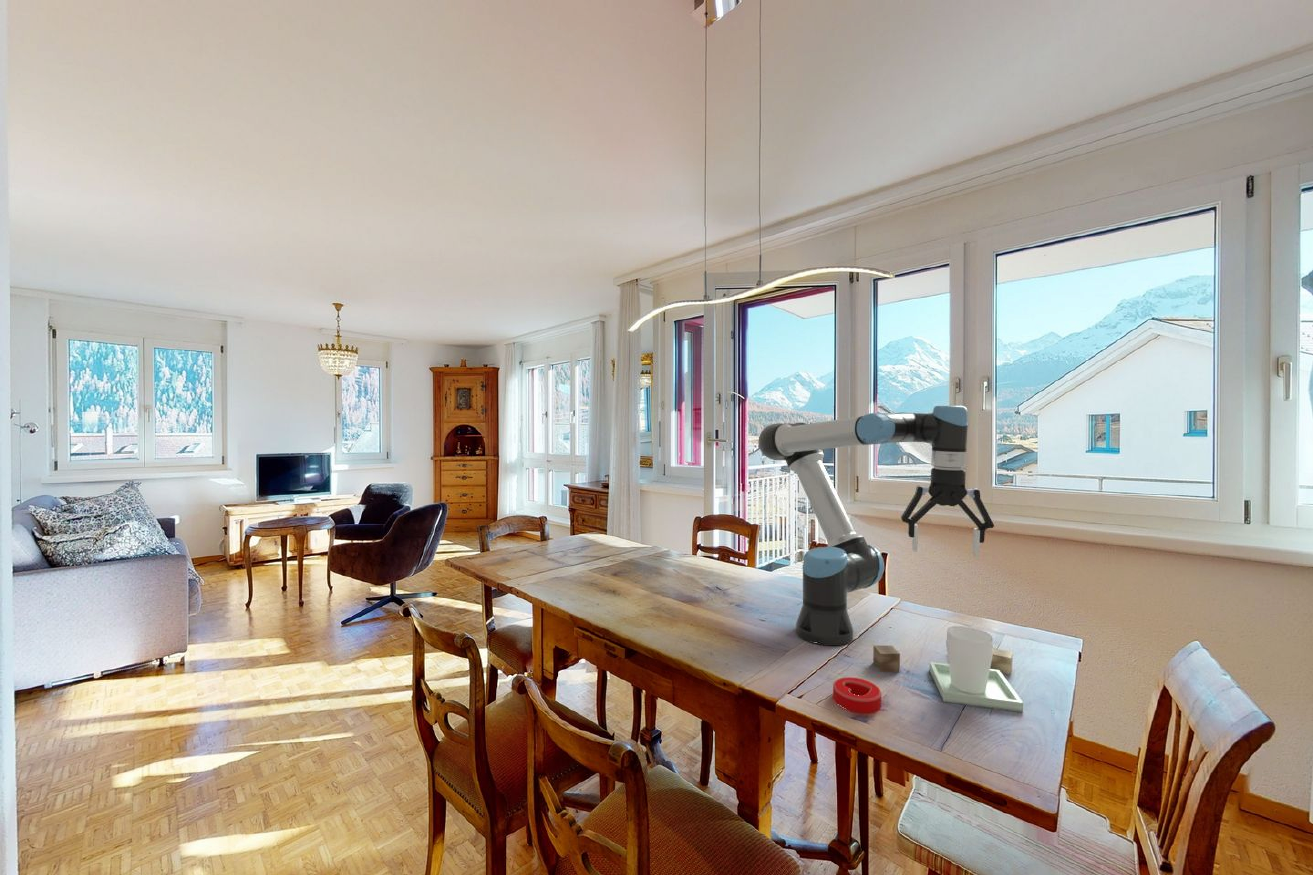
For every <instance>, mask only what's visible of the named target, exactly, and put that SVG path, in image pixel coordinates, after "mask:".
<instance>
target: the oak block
mask: <svg viewBox="0 0 1313 875" xmlns="http://www.w3.org/2000/svg"><path fill="white" fill-rule="evenodd" d="M1013 656H1014V653H1013V652H1012V651H1007V650H1003V649H999V648H996V647H995V648H994V647H993V656H992V661H991V666H990V669H995V670H1000V672H1001V673H1002V674H1007V675H1012V672H1013V658H1014V657H1013Z"/></svg>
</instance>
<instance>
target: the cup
mask: <svg viewBox="0 0 1313 875" xmlns="http://www.w3.org/2000/svg"><path fill="white" fill-rule="evenodd" d="M993 640H994V639H993V635H991V634H990V633H988V632H986V631H984V630H982V629H979V628H975V627H971V626H965V625H964V626H963V625H955V626H954V625H953V626H950V627H948V628H947V630H946V640H945V645H946V653H947V655H946V656H947V660H948V663H947V664H949V670H950V678H951V684H952V685H953V686H954V687H955V688H956V689H958V690H960V691H963V692H966V693H970V694H982V693H984V692H985V691H986V686H987V681H988V676H989V671H990V666H991V661H992V656H993V648H994V643H993Z"/></svg>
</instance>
